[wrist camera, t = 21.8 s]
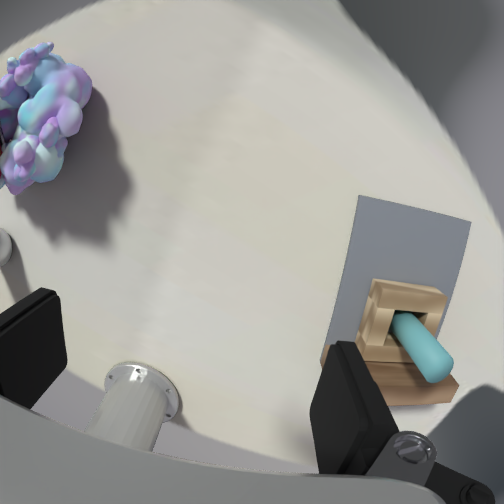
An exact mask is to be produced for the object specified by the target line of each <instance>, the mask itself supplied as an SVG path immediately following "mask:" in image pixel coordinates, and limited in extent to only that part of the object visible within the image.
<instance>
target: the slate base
mask: <svg viewBox="0 0 504 504" xmlns="http://www.w3.org/2000/svg"><path fill="white" fill-rule="evenodd" d="M470 226H471V222H470V221H466V220H462V219H459V218H455V217H451V216H447V215H443V214H440V213H436V212H432V211H428V210H424V209H419V208H415V207H411V206H407V205H402V204H398V203H394V202H389V201H385V200H380V199H375V198H371V197H366V196H361V195H359V196H358V202H357V207H356V213H355V218H354V223H353V228H352V233H351V238H350V243H349V247H348V252H347V257H346V261H345V265H344V270H343V274H342V278H341V283H340V287H339V291H338V295H337V299H336V303H335V307H334V311H333V315H332V319H331V322H330V326H329V330H328V333H327V337H326V341H325V344H324V348H325V345H331V344H335V343H336V342H337V341H338V340H339V341H351V342H355V339H356V336H357V333H358V330H359V326H360V323H361V320H362V316H363V313H364V309H365V306H366V302H367V299H368V295H369V291H370V287H371V284H372V280H373V278H374V279H381V280H389V281H396V282H403V283H410V284H418V285H425V286H432V287H435V288H437V289H438V290H439V291H440V292H442V293H443V294H444V295H446V296H447V297H448V299H447V302H446V305H445V308H444V311H443V314H442V317H441V319H440V322H439V325H438V328H437V330H436V333H435V336H434V338H435V339H437V337H438V334H439V332H440V329H441V326H442V323H443V321H444V318H445V315H446V312H447V309H448V306H449V303H450V300H451V297H452V294H453V291H454V287H455V284H456V281H457V277H458V274H459V270H460V267H461V263H462V259H463V256H464V252H465V248H466V243H467V239H468V235H469V230H470ZM411 312H413V311H411ZM388 333H393V332H392V330H391V329H390V328H389V330H388ZM324 348H323V351H322V355H323V352H324ZM322 355H321V358H322ZM321 358H320V362H321Z"/></svg>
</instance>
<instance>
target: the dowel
mask: <svg viewBox="0 0 504 504" xmlns="http://www.w3.org/2000/svg"><path fill="white" fill-rule="evenodd" d="M389 328H390V329H391V330H392V332H393V333H394V335H395V336H396V337H397V339H398V340H399V342H400V343H401V344H402V346H403V347H404V349H405V350H406V351H407V353H408V354H409V356H410V357H411V359H412V360H413V361H414V363H415V364H416V366H417V367H418V369H419V370H420V372H421V373H422V374H423V376H424V377H425V379H426V380H427V381H428V382H429V383H437V382H439V381H441V380H443V379H444V378H446V377H447V376H448V375H449V373H450V372H451V370H452V368H453V364H454V361H453V358H452V357H451V356H450V355H449V353H448V352H447V351H446V350H445V349H444V348H443V347H442V346H441V344H440V343H439V342H438V341H437V340H436V339H435V338H434V337H433V335H432V334H431V333H430V332H429V331H428V330H427V329H426V328H425V327H424V325H423V324H422V323H421V322H420V321H419V320H418V319H417V318H416V317H415V316H414V315H413V313H412V312H411V311H404V310H395V311H394V314H393V317H392V321H391V324H390V327H389Z"/></svg>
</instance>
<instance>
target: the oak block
mask: <svg viewBox="0 0 504 504" xmlns="http://www.w3.org/2000/svg"><path fill="white" fill-rule="evenodd" d="M447 299H448V297H447V296H446V295H444V294H443V293H442V292H440V291H439V290H438V289H437V288H435V287H432V286H425V285H418V284H410V283H403V282H396V281H389V280H381V279H374V278H373V280H372V284H371V287H370V291H369V295H368V299H367V302H366V306H365V309H364V313H363V316H362V320H361V323H360V326H359V330H358V333H357V336H356V339H355V343H356V345H357V347H358V349H359V351H360V353H361V355H362V357H363V359H364V361H379V362H407V363H414V361H413V360H412V359H411V357H410V356H409V354H408V353H407V351H406V350H405V349H404V347H403V346H402V344H401V343H400V342H399V340H398V339H397V337H396V336H395V335H394V333H388V330H389V327H390V324H391V321H392V317H393V314H394V311H395V310H404V311H413V312H412V313H413V315H414V316H415V317H416V318H417V319H418V320H419V321H420V322H421V323H422V324H423V325H424V327H425V328H426V329H427V330H428V331H429V332H430V333H431V334H432V335H433V337H434V336H435V333H436V330H437V328H438V325H439V322H440V319H441V317H442V314H443V311H444V308H445V305H446V302H447Z"/></svg>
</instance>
